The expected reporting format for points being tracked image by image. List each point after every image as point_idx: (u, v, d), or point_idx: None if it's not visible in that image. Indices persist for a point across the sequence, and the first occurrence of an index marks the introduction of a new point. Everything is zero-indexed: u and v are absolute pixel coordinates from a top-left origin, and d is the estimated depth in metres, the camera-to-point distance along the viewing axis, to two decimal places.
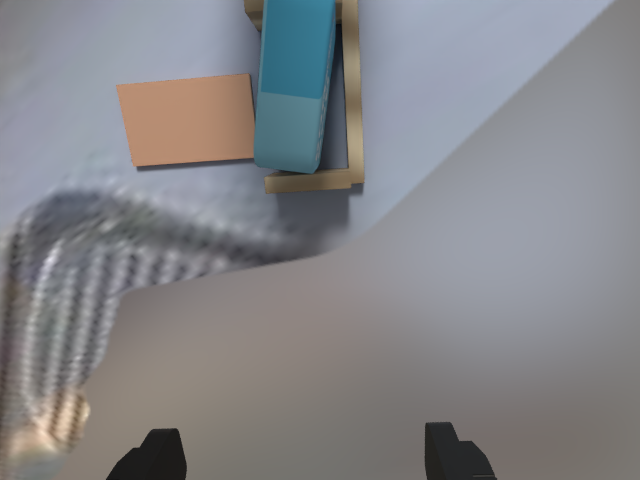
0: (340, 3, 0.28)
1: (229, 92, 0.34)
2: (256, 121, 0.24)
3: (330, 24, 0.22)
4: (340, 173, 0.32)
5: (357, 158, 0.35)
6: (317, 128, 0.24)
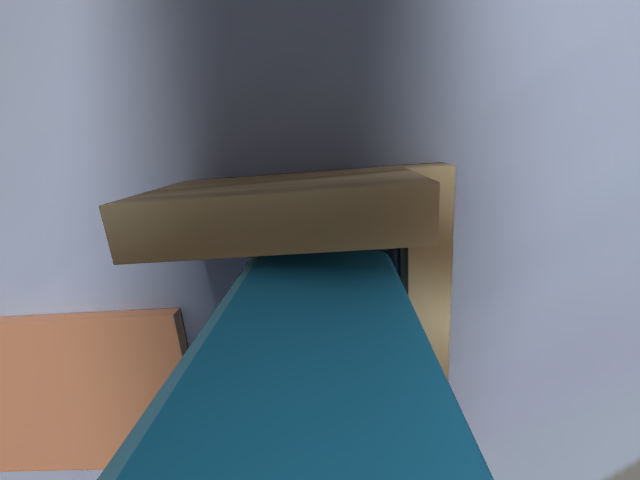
0: (429, 243, 0.08)
1: (131, 350, 0.15)
2: None
3: None
4: None
5: None
6: None
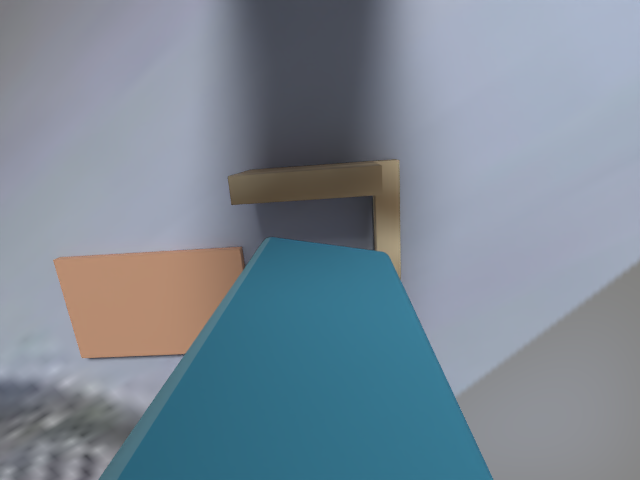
0: None
1: (213, 272, 0.24)
2: None
3: None
4: None
5: None
6: None
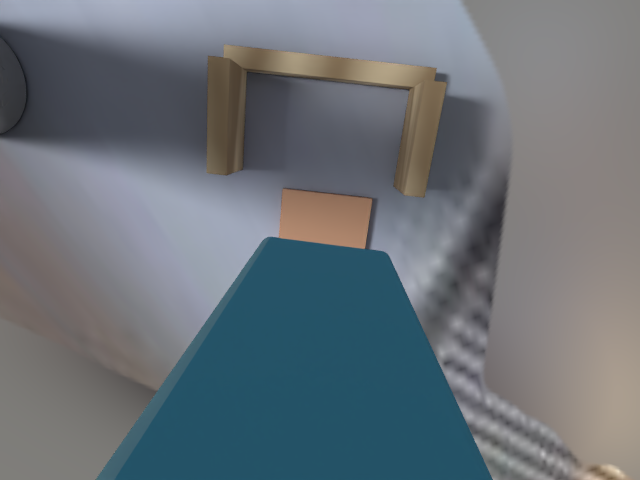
0: (230, 61, 0.24)
1: (297, 214, 0.31)
2: None
3: None
4: (424, 94, 0.24)
5: (403, 73, 0.27)
6: None
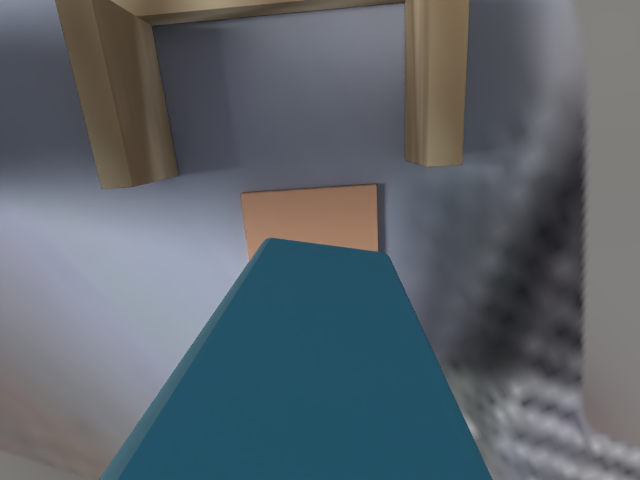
0: None
1: (270, 227, 0.21)
2: None
3: None
4: None
5: None
6: None
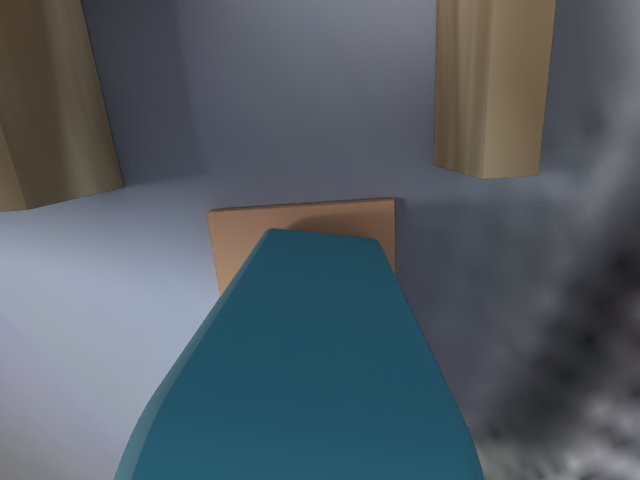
0: None
1: None
2: None
3: None
4: None
5: None
6: None
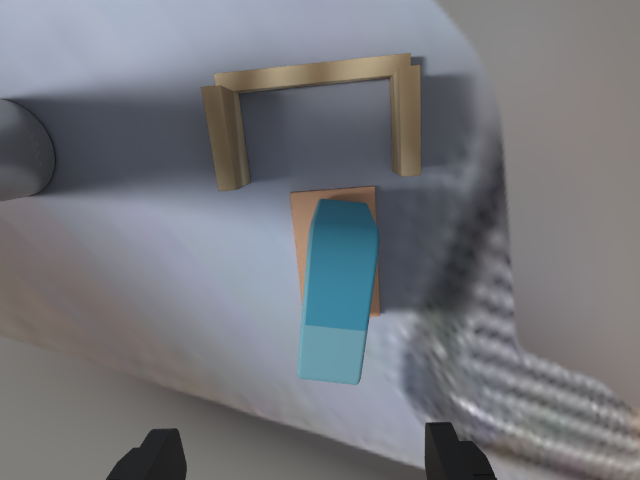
0: (221, 87, 0.26)
1: (308, 213, 0.33)
2: (300, 349, 0.24)
3: (375, 266, 0.22)
4: (401, 80, 0.26)
5: (380, 64, 0.28)
6: (363, 354, 0.24)
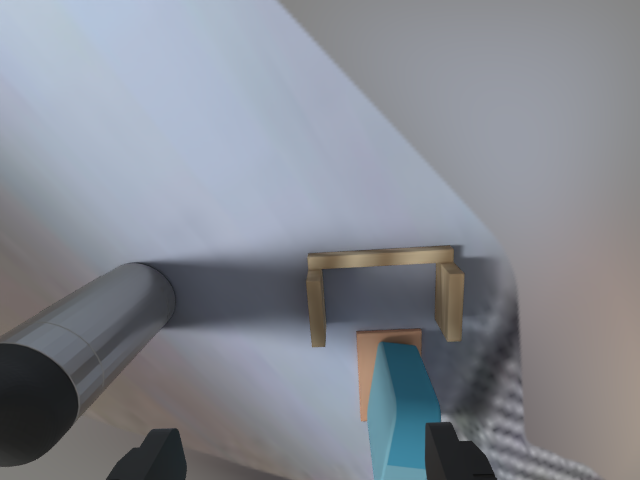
0: (320, 281, 0.37)
1: (369, 348, 0.44)
2: (382, 479, 0.34)
3: None
4: (450, 282, 0.36)
5: (431, 255, 0.39)
6: None
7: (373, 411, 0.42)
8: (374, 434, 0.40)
